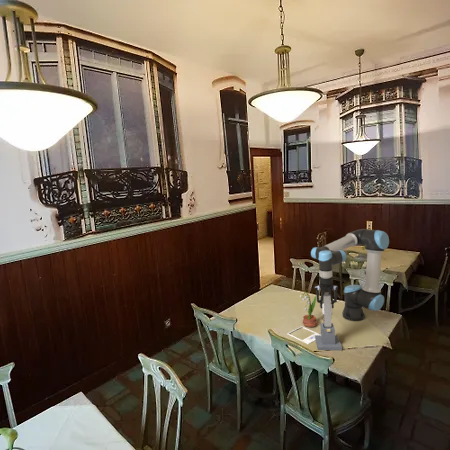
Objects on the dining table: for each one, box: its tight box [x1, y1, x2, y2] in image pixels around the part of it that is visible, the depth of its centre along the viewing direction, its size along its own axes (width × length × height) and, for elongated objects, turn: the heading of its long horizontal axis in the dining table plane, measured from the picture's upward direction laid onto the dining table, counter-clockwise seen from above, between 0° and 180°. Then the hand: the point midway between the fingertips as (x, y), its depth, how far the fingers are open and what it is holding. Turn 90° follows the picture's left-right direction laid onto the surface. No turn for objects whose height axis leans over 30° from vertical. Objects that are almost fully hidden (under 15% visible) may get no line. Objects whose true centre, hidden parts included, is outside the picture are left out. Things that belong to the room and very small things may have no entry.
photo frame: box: [286, 325, 321, 345], centre depth 212 cm, size 15×1×18 cm
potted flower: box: [299, 292, 318, 328], centre depth 223 cm, size 12×10×25 cm
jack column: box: [322, 292, 332, 328], centre depth 196 cm, size 4×4×25 cm
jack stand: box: [315, 322, 343, 351], centre depth 198 cm, size 14×14×12 cm
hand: (327, 313), depth 196 cm, fingers closed on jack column, 4 cm apart
